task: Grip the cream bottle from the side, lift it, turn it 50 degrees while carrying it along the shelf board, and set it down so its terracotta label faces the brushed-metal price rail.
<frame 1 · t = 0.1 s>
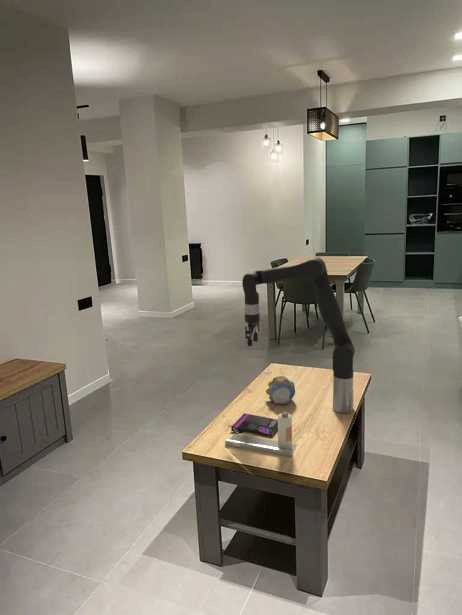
hand: (252, 343, 232), 29 cm above the table, tool pointing down, fingers open, 8 cm apart
decorative rock: (280, 401, 233), on the table
price rail: (257, 447, 186), on the shelf board, point 2 cm above the table
box: (257, 430, 206), on the table
cream bottle: (285, 448, 186), point 1 cm above the table, touching shelf board
shelf board: (261, 447, 190), on the table
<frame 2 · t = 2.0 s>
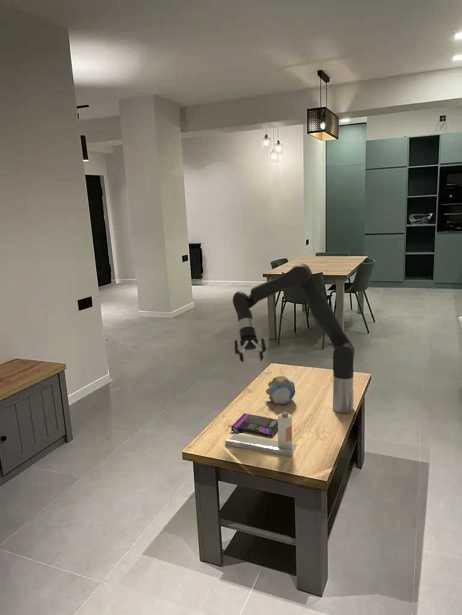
hand: (252, 360, 208), 29 cm above the table, tool tilted 45°, fingers open, 8 cm apart
nothing on the table moved.
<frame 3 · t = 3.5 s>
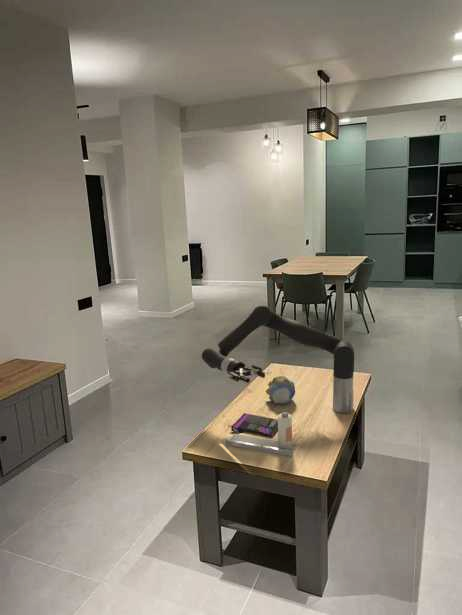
hand: (256, 378, 194), 26 cm above the table, tool horizontal, fingers open, 8 cm apart
nothing on the table moved.
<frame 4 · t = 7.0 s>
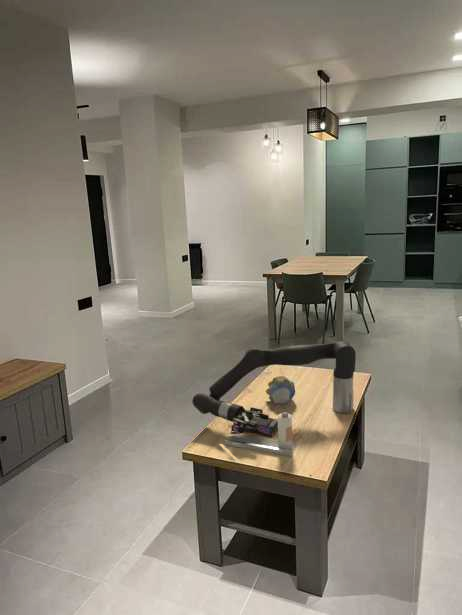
hand: (262, 421, 191), 10 cm above the table, tool horizontal, fingers open, 8 cm apart
nothing on the table moved.
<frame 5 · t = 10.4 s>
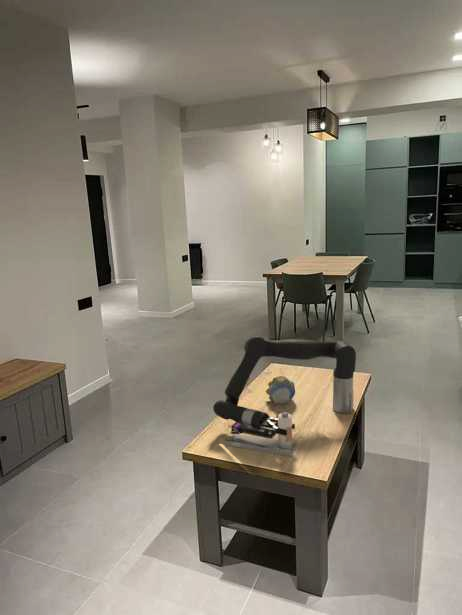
hand: (290, 429, 183), 10 cm above the table, tool horizontal, fingers closed on cream bottle, 5 cm apart
cream bottle: (285, 448, 186), point 1 cm above the table, touching gripper, shelf board
everything else where it was.
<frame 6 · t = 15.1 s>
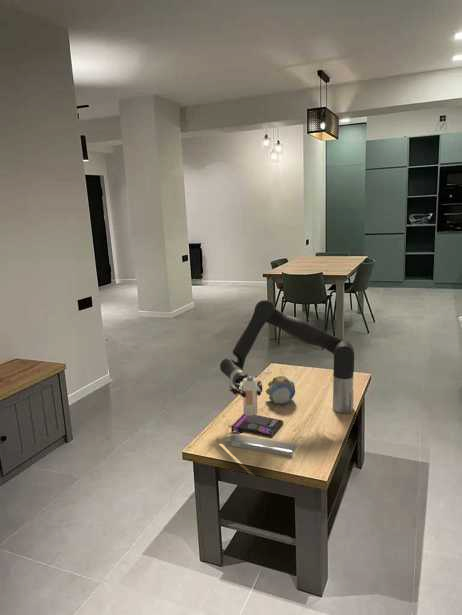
hand: (252, 394, 183), 24 cm above the table, tool horizontal, fingers closed on cream bottle, 5 cm apart
cream bottle: (250, 412, 187), point 16 cm above the table, touching gripper
everything else where it was.
when the fingers open (11 cm above the table, at t = 20.2 s): cream bottle drops 1 cm, resting on shelf board.
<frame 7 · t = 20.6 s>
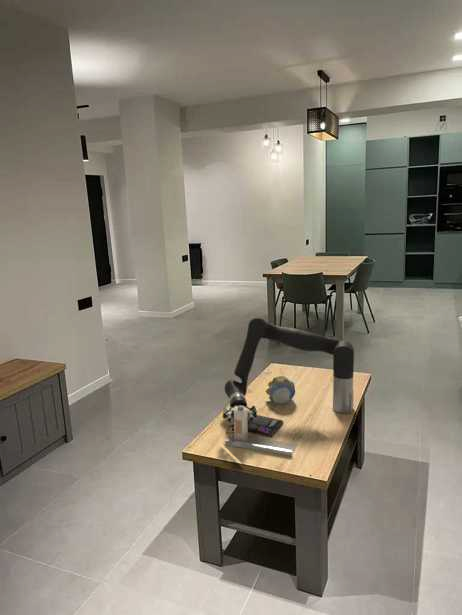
hand: (240, 420, 189), 12 cm above the table, tool horizontal, fingers open, 8 cm apart
cream bottle: (241, 440, 194), point 1 cm above the table, touching shelf board
everything else where it was.
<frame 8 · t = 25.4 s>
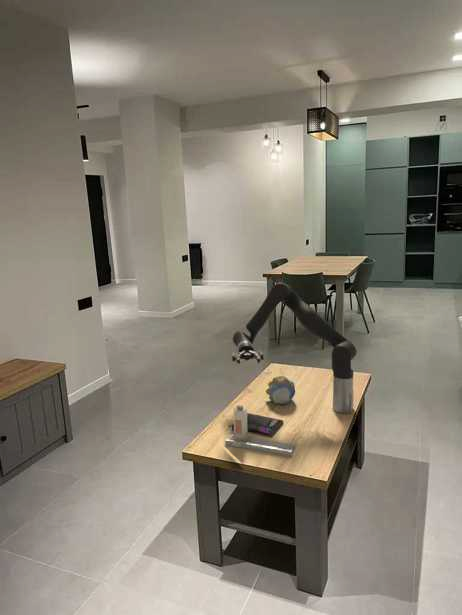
hand: (248, 361, 204), 30 cm above the table, tool horizontal, fingers open, 8 cm apart
nothing on the table moved.
at the end: cream bottle 0.1 cm from the target spot on the shelf board, point 1.3 cm above the shelf board's base; cream bottle tilted 1°; the gripper is holding nothing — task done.
